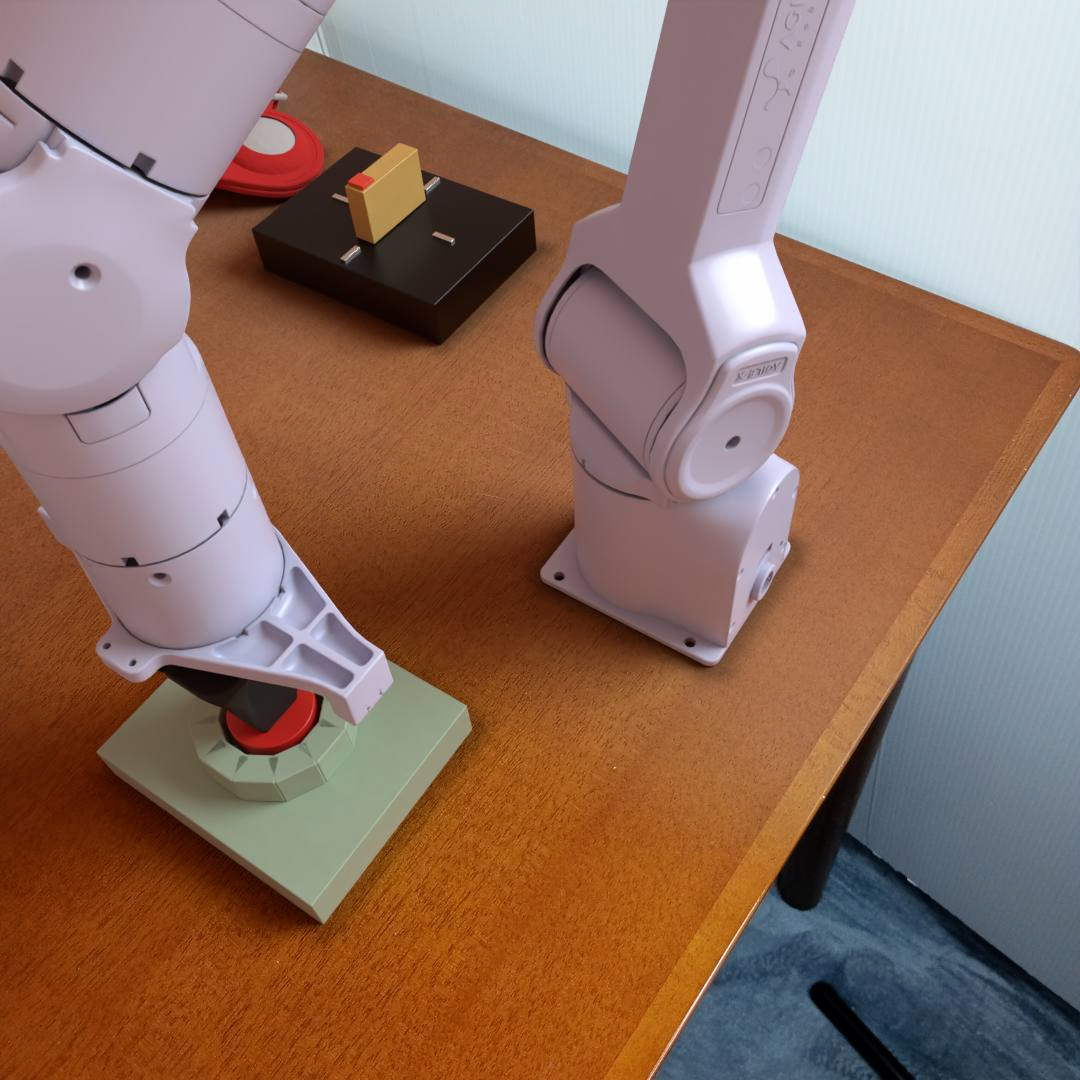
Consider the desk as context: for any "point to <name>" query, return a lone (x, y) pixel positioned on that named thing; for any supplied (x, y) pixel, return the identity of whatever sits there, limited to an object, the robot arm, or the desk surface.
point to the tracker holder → (275, 157)
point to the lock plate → (399, 249)
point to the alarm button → (278, 727)
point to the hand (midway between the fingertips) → (269, 707)
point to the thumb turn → (385, 192)
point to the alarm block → (293, 782)
